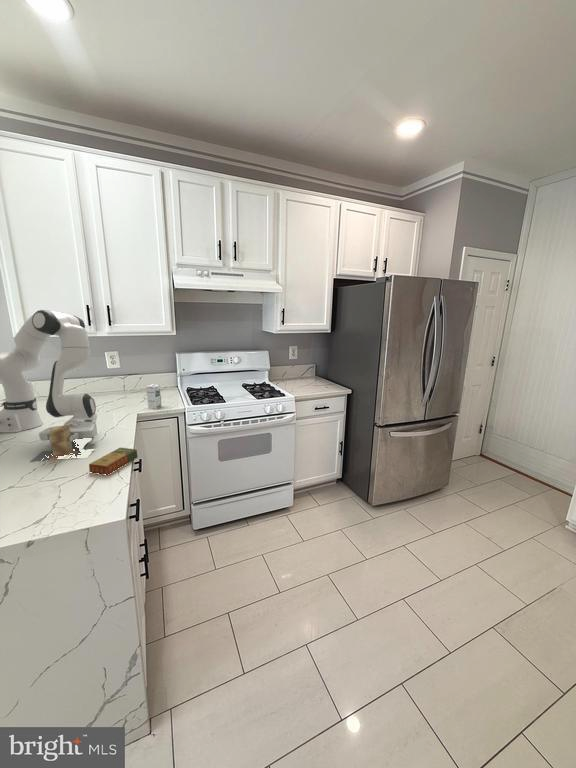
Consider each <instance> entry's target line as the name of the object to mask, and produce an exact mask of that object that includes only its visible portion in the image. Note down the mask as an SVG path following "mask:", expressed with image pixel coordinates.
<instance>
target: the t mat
mask: <svg viewBox="0 0 576 768" xmlns="http://www.w3.org/2000/svg"><path fill="white" fill-rule="evenodd" d="M74 442H75V441H74ZM74 442H73V440H72V448H73V449H75V451H73V450H72V451H71V452H70V453H73V454H75V456H76V457H77V455H81V454H78V453H81V452H80V451H79V448H77V447H75V446H76V445H75V444H76V442H75V443H74ZM77 446H79V445H78V444H77ZM70 453H69V454H70ZM51 454H52V455H53V450H45V451H41V452H40V453H38V454H37V455H36V456H35V457H33V458H32V459H31V460H30V461H29V463H35V462H37V461H38V462H49V461H50V460H52V461H59V460H58V459H57V458H58V456H57V457H56V456H52V455H51ZM69 454H68V455H69ZM73 454H70V455H73ZM45 455H46V456H47V457H48V456H49V458H47V457H46V456H45ZM71 457H72V456H71ZM71 457H70V458H71ZM43 458H44V459H43ZM42 459H43V460H42ZM41 460H42V461H41ZM46 460H48V461H46ZM75 460H78V459H77V458H76V459H75Z"/></svg>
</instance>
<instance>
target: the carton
mask: <svg viewBox="0 0 576 768" xmlns="http://www.w3.org/2000/svg"><path fill="white" fill-rule="evenodd" d="M136 459H138V450H137V449H136V448H128V447H127V448H126V447H118V448H116V449H114V450H113V451H111V452H109V453H106V455H103V456H101V457H100V458H98V459H96V460H94V461H92V462H90V463H89V464H88V467H89V473H90V472H92V473H99V474H106V475H108V474H110V473H112V472H113V471H115V470H117V469H118V468H120V467H122V466H123V467H125V466H126V465H128V464H129V462H130V463H131V462H134V461H135V460H136ZM127 463H128V464H127ZM125 464H126V465H125ZM124 465H125V466H124ZM123 467H122V468H123ZM120 469H121V468H120ZM117 471H118V470H117ZM115 472H116V471H115ZM92 473H91V474H92ZM112 474H113V473H112Z"/></svg>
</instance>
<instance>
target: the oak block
mask: <svg viewBox="0 0 576 768" xmlns="http://www.w3.org/2000/svg"><path fill="white" fill-rule="evenodd" d="M53 427H54V428H52V429H51V430H50V438H51V442H50V443H51V451H53V456H64V455H68V454H69V453H70V452H71V451H72V450H73V448H72V441H67V437H68V436H71V434H70V427H69V426H63V425H55V426H53Z"/></svg>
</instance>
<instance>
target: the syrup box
mask: <svg viewBox="0 0 576 768" xmlns="http://www.w3.org/2000/svg"><path fill="white" fill-rule="evenodd" d="M145 388H146V399H147V409H149V408H151V410H157V409H159V408H161V407H162V399H161V398H162V395H161V386H160V384H157V383H156V384H155V383H151V384H150V385H146V386H145Z"/></svg>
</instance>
